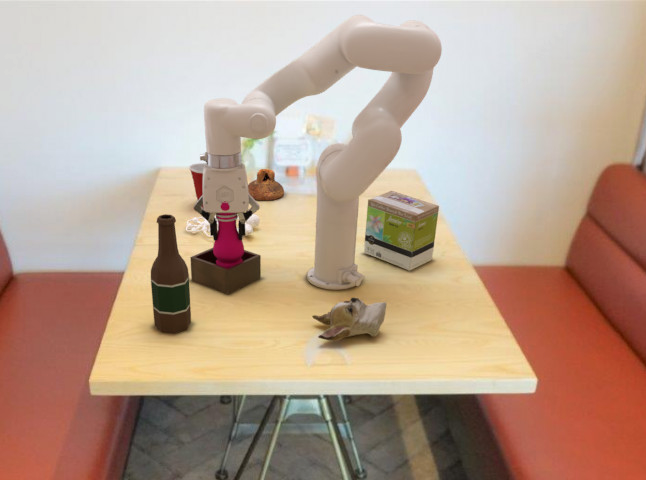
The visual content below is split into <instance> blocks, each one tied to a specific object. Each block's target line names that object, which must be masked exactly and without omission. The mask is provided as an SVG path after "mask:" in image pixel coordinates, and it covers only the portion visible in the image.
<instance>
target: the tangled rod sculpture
mask: <svg viewBox="0 0 646 480" xmlns="http://www.w3.org/2000/svg"><path fill="white" fill-rule="evenodd" d="M237 216H238V214H237ZM215 218H216V215H215ZM200 219H202V220H203V221H200ZM216 220H217V219H216ZM237 221H238V222H239V216H238V218H237V219H236V222H237ZM191 222H192V223H191ZM260 222H261V220H260V217H259V216H258V215H257V214H256V213H254V214H252V216H251V217H250V218H249V219H248V220H247V221H246V222H245V236H244V237H248V236H251V235H252V234H253V233H254V229H256V228H257V227H258V226H259V225H260ZM185 231H186V232H191V234H193V235H196V234H197V233H198V232H202V233H203V234H204V235H205V236H207V237H209V238H213V236H211V234H210V224H209V223H208V221H207V220H206V219H205V218H204V217H203V216H198V217H197V216H194V217H193V218H191V219H188V220H187V221H186V227H185ZM237 231H238V233H239V229H238V227H237ZM217 232H218V220H217ZM208 233H209V234H208Z"/></svg>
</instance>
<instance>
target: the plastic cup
mask: <svg viewBox="0 0 646 480" xmlns="http://www.w3.org/2000/svg"><path fill="white" fill-rule="evenodd" d="M206 164H207V162H203V163H202V162H198V163H194V164H191V165H189V166H188V167H189V168H188V169H189V171H190V173H191V178H192V182H193V185H194V186H193V187H194V191H195V196H196V201H198V200H199V199H200V197H201V196H202V195H203V169H204V166H205V165H206ZM202 207H203V205H202ZM203 208H204V207H203Z"/></svg>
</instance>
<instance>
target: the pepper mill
mask: <svg viewBox="0 0 646 480" xmlns="http://www.w3.org/2000/svg"><path fill="white" fill-rule="evenodd" d="M224 202H227V201H224ZM228 203H229V202H228ZM228 203H223V202H222V204H221V209H222V210H223V211H227V210H229V208H230V206H229V204H228ZM237 215H238V214H237V213H216V214H215V216H216V219H217V220H218V231H217V232H218V233H217V240H216V241H214V242H213V246H212V248H213V253H214V255H215V257H216V258H217V260H216V265H219V266H221V267H224V268H227V269H228V268H230V267H232V266H234V265H236V264H238V263H241V262H243V260H242V259H241V257H242V256H243V254H244V250H245V246H244V243H243V239H242V240H239V232H238V231H237V228H238V227H237V221H236V219H237V218H239V216H237Z"/></svg>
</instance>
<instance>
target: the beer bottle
mask: <svg viewBox="0 0 646 480" xmlns="http://www.w3.org/2000/svg"><path fill="white" fill-rule="evenodd" d="M176 222H177V220H176V217H175V216H174V215H173V214H167V213H166V214H161V215H160V214H159V215H158V217H156V223H157V226H158V227H157V229H158V230H157V231H158V232H157V233H158V234H157V235H158V240H157V241H158V242H157V243H158V244H157V245H158V247H157V248H158V249H157V256H156V258H155V259H154V261H153V262H152V265H151V268H150V287H151V299H152V300H151V301H152V312H153V314H152V315H153V320H154V321H153V323H154V326H155V327H156V328H157V329H158V330H159V331H160V332H162V333H169V334H177V333H181V332H184V331H187V330H188V328H189V327H190V325H191V323H192V310H191V309H192V308H191V292H190V291H191V290H190V274H189V268H188V266H187V263H186V260H184V258H183V256H181V255H180V252H179V248H178V247H179V246H178V241H177V234H176V232H177V231H176V224H175V223H176Z"/></svg>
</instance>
